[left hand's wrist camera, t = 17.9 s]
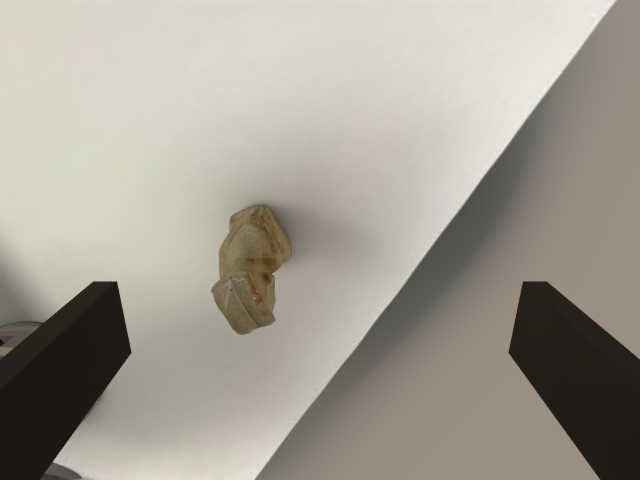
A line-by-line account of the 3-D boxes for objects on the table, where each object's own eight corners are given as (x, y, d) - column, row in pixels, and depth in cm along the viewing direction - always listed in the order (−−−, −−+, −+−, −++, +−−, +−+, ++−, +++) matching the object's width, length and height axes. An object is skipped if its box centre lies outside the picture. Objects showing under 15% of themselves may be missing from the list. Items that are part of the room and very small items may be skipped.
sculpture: (252, 268, 44) (221, 349, 30) (225, 210, 42) (178, 269, 28) (300, 251, 44) (291, 328, 30) (276, 192, 41) (253, 244, 27)
